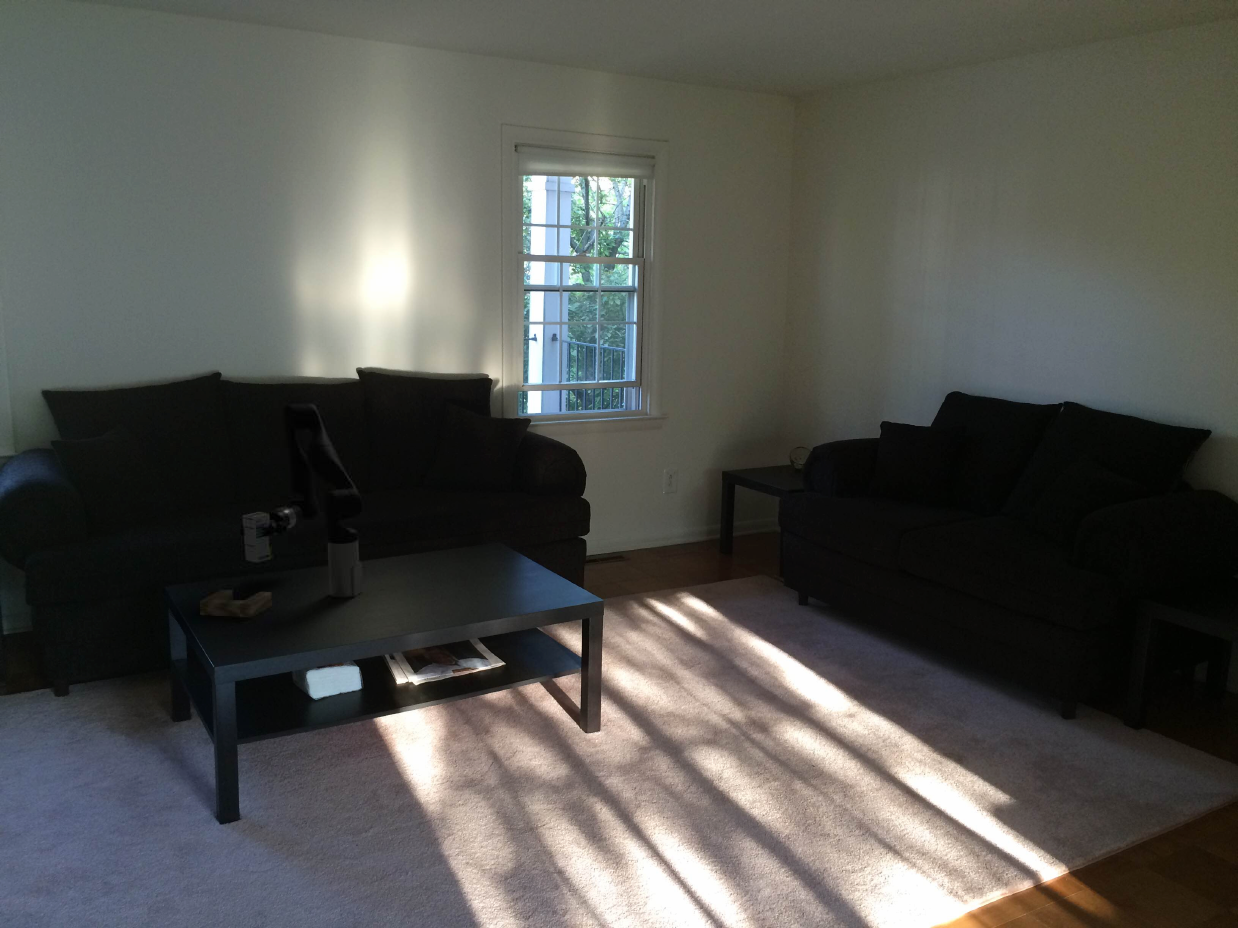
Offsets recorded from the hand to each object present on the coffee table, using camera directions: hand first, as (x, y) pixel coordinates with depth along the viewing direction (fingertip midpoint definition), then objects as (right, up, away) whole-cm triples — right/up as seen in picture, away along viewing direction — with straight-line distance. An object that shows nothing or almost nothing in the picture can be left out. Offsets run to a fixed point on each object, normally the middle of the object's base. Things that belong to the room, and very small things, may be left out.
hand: (253, 532), depth 302 cm
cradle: (-2, -22, -9) cm, 24 cm away
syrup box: (0, -9, +4) cm, 9 cm away
